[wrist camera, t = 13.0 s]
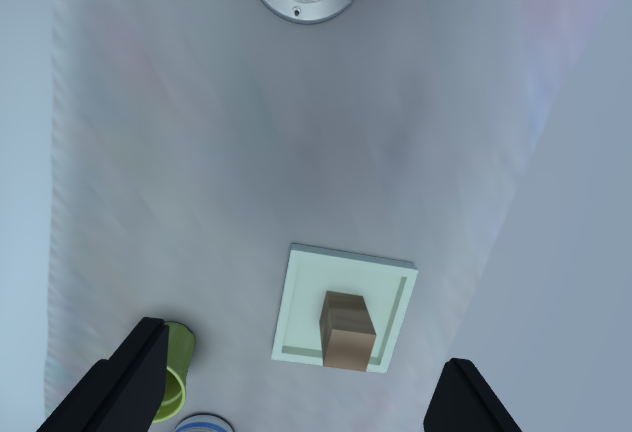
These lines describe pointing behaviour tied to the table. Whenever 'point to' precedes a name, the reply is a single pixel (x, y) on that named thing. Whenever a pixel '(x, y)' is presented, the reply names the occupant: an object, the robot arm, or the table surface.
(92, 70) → the table surface
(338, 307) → the walnut block
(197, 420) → the supplement tub
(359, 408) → the table surface
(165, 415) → the plant pot
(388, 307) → the sage tray
